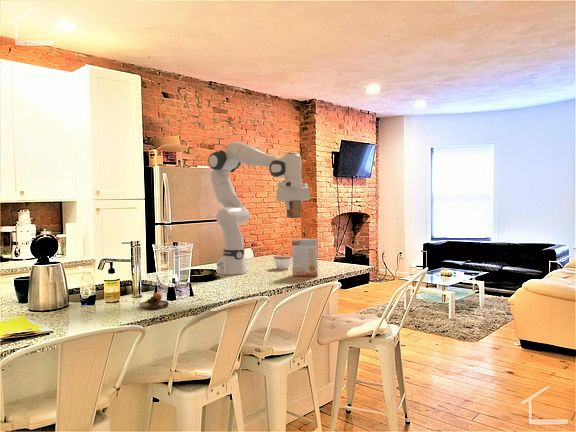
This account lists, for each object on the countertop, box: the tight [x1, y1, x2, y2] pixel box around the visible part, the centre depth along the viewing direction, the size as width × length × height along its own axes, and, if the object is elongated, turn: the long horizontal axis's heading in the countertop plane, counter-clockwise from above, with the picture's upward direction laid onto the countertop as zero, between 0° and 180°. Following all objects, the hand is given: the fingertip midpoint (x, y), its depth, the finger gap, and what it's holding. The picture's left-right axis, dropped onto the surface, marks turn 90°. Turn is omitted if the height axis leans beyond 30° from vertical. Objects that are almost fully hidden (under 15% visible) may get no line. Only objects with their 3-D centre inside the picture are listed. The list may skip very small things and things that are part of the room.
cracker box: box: [291, 238, 319, 277], centre depth 265 cm, size 14×6×21 cm, turn 84°
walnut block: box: [286, 201, 302, 219], centre depth 248 cm, size 6×5×9 cm
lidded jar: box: [273, 252, 292, 270], centre depth 290 cm, size 11×11×9 cm
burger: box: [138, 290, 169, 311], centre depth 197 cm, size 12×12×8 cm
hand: (293, 209), depth 248 cm, fingers closed on walnut block, 5 cm apart
